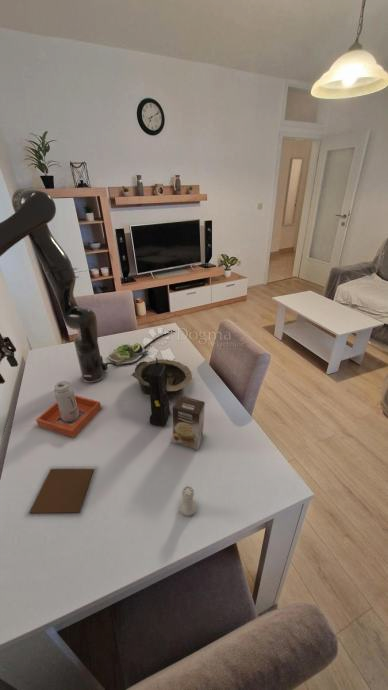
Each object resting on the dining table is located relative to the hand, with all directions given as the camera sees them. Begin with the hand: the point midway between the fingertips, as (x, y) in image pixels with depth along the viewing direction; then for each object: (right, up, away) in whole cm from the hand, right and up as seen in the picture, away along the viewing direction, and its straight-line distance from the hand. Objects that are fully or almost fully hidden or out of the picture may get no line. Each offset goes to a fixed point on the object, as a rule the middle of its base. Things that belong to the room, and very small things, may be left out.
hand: (8, 374), depth 91 cm
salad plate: (+27, +4, +52) cm, 58 cm away
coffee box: (+59, -23, +4) cm, 63 cm away
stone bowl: (+48, -9, +30) cm, 57 cm away
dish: (+15, -18, +13) cm, 26 cm away
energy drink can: (+15, -18, +13) cm, 26 cm away
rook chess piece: (+59, -35, -16) cm, 71 cm away
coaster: (+24, -32, -12) cm, 42 cm away
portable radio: (+48, -19, +12) cm, 53 cm away
